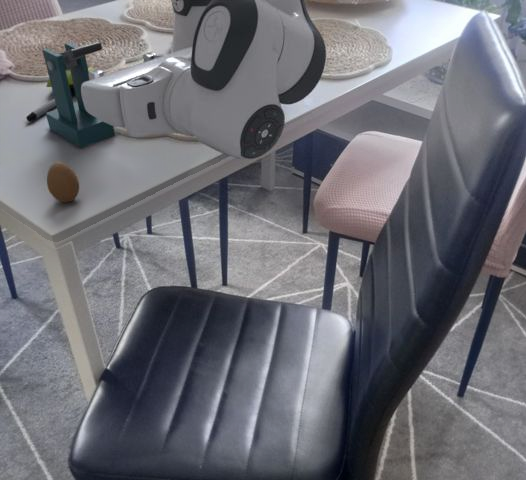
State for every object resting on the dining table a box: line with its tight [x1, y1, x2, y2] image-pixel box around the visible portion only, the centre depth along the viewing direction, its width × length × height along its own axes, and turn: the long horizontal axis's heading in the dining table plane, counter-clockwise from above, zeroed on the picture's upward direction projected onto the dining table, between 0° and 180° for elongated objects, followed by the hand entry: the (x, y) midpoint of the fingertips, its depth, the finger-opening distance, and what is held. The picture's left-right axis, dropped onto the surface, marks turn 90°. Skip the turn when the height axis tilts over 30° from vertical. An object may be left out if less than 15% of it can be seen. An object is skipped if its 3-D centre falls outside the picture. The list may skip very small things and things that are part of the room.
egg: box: [46, 161, 80, 203], centre depth 87 cm, size 4×4×6 cm
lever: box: [58, 41, 103, 70], centre depth 94 cm, size 10×5×2 cm, turn 44°
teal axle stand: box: [42, 41, 116, 149], centre depth 100 cm, size 10×7×14 cm
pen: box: [26, 86, 76, 122], centre depth 113 cm, size 1×16×1 cm, turn 158°
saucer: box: [46, 66, 96, 88], centre depth 118 cm, size 9×9×2 cm
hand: (120, 67), depth 86 cm, fingers open, 8 cm apart
